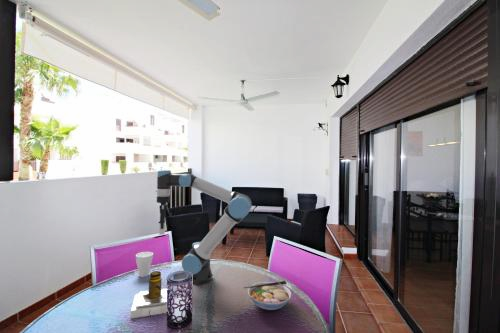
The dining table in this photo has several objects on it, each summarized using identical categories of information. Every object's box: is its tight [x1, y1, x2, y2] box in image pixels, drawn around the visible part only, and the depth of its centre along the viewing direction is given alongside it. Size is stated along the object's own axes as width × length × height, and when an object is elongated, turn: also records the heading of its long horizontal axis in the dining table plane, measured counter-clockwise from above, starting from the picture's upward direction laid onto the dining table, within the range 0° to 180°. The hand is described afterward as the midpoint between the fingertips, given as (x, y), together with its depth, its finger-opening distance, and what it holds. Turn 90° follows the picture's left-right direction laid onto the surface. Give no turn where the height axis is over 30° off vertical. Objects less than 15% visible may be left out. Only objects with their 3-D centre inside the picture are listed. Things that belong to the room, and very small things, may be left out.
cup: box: [135, 251, 154, 278], centre depth 159 cm, size 10×10×14 cm
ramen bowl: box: [243, 280, 292, 311], centre depth 127 cm, size 25×23×8 cm
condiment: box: [143, 270, 163, 302], centre depth 124 cm, size 7×8×12 cm
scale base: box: [130, 293, 167, 319], centre depth 123 cm, size 18×17×4 cm
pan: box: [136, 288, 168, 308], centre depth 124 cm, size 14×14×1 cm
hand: (162, 231), depth 145 cm, fingers open, 13 cm apart
